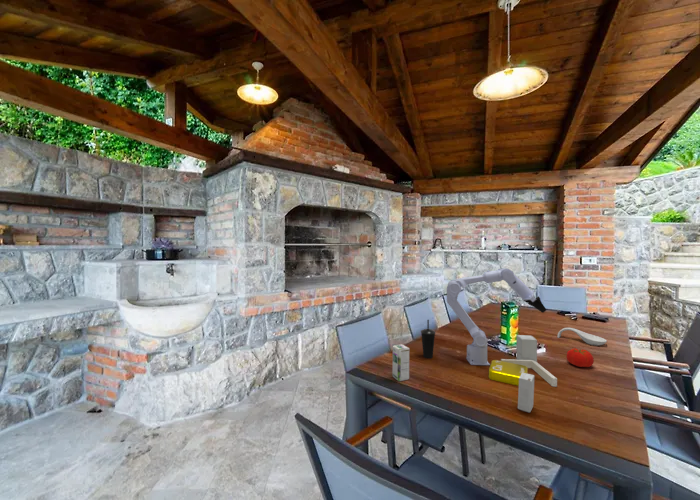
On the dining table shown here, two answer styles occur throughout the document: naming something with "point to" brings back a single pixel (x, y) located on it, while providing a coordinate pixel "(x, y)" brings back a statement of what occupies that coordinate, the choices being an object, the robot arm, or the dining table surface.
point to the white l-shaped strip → (535, 369)
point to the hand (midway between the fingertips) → (541, 309)
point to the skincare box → (526, 392)
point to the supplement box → (526, 348)
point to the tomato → (580, 357)
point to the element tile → (506, 372)
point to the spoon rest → (585, 337)
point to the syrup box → (400, 362)
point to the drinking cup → (428, 341)
